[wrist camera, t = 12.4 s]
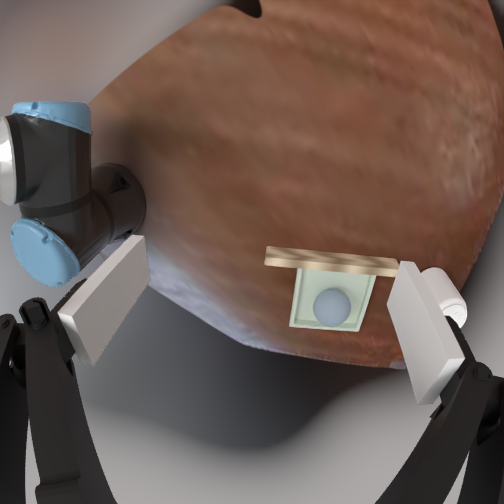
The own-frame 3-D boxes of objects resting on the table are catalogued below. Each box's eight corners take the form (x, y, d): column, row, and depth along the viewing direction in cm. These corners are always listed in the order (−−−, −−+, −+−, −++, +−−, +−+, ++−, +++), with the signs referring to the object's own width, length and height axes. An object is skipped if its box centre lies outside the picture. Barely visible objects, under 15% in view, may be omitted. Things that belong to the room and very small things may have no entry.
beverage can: (405, 279, 53) (425, 318, 42) (439, 258, 50) (465, 294, 39) (418, 305, 55) (435, 345, 45) (449, 286, 52) (472, 323, 42)
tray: (289, 320, 61) (289, 326, 59) (298, 259, 54) (298, 264, 52) (357, 325, 59) (358, 331, 57) (374, 266, 52) (377, 272, 50)
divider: (266, 253, 54) (264, 265, 50) (267, 246, 53) (265, 257, 50) (393, 265, 52) (399, 277, 48) (395, 258, 51) (401, 270, 47)
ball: (310, 308, 58) (310, 332, 52) (315, 279, 55) (317, 302, 49) (344, 311, 57) (347, 335, 51) (352, 282, 54) (357, 306, 48)
